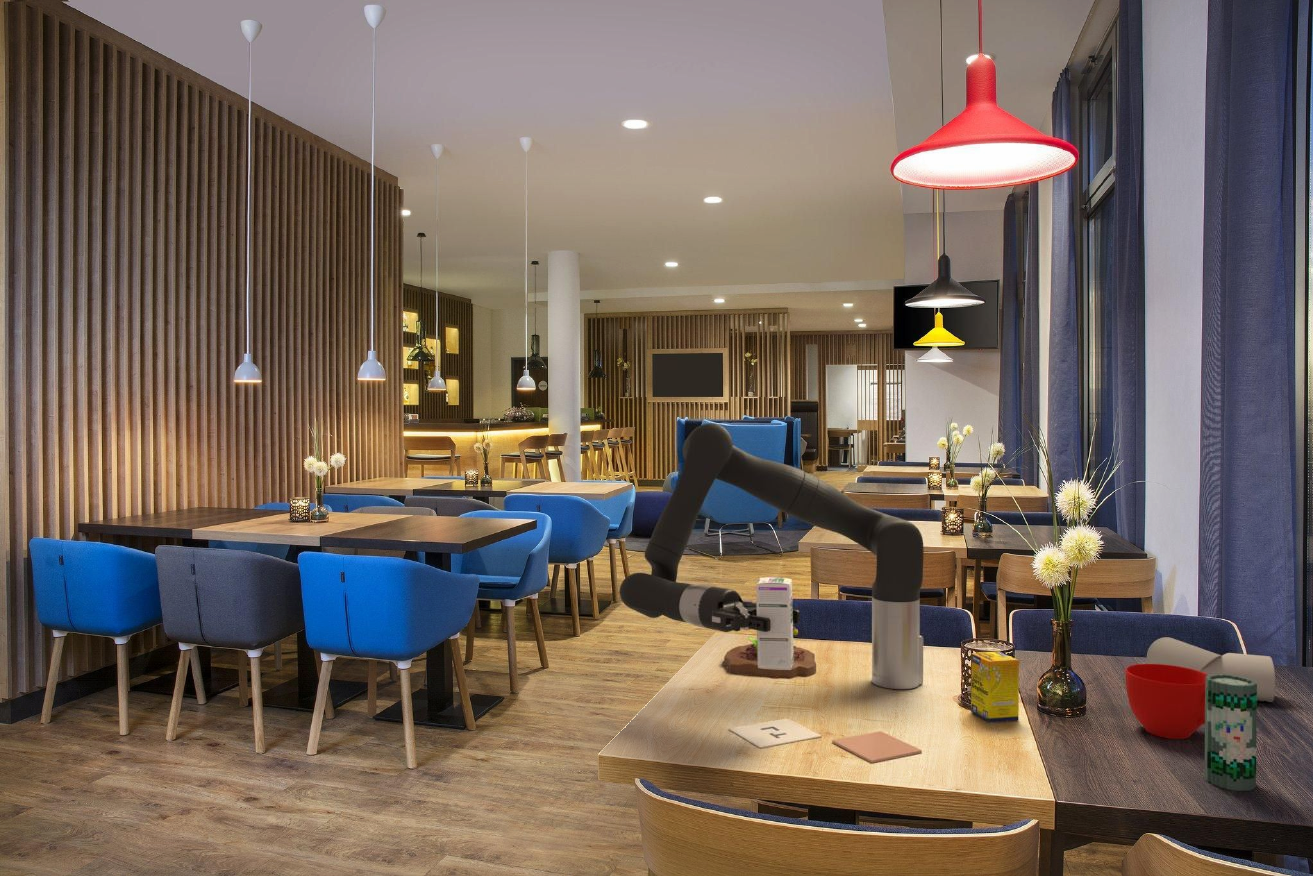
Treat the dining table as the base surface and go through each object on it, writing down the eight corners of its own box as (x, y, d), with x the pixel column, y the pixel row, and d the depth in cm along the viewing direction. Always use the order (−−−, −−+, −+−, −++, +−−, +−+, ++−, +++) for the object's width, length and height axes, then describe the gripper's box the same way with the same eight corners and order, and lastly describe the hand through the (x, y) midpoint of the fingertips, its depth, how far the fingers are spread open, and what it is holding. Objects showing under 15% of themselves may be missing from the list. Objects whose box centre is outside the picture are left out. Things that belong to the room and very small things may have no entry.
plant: (727, 653, 209) (727, 604, 209) (813, 656, 207) (814, 607, 206) (721, 677, 190) (721, 624, 189) (817, 681, 187) (817, 627, 187)
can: (1210, 787, 132) (1211, 683, 131) (1201, 772, 137) (1202, 672, 137) (1259, 793, 130) (1260, 687, 129) (1248, 777, 135) (1249, 676, 135)
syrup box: (791, 670, 151) (791, 583, 151) (756, 668, 152) (755, 582, 152) (793, 661, 157) (793, 577, 156) (759, 659, 158) (758, 576, 158)
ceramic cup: (1205, 759, 143) (1206, 695, 142) (1108, 727, 158) (1108, 669, 157) (1254, 745, 149) (1255, 684, 148) (1155, 715, 164) (1156, 660, 163)
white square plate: (787, 719, 162) (787, 718, 162) (821, 737, 153) (821, 735, 153) (728, 729, 157) (728, 728, 157) (760, 748, 148) (760, 746, 148)
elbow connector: (1153, 691, 175) (1277, 703, 167) (1152, 634, 177) (1275, 644, 168) (1145, 687, 190) (1258, 698, 182) (1144, 635, 192) (1256, 644, 184)
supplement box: (970, 712, 166) (970, 652, 165) (1000, 710, 167) (1000, 650, 167) (988, 723, 160) (989, 661, 160) (1019, 721, 161) (1019, 659, 161)
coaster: (880, 733, 155) (880, 731, 155) (921, 752, 146) (921, 750, 146) (832, 742, 150) (832, 740, 150) (871, 763, 141) (871, 760, 141)
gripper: (683, 592, 159) (758, 605, 148) (735, 581, 169) (809, 592, 158) (684, 635, 159) (758, 651, 148) (735, 621, 170) (809, 635, 158)
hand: (784, 621), depth 153 cm, fingers closed on syrup box, 8 cm apart
